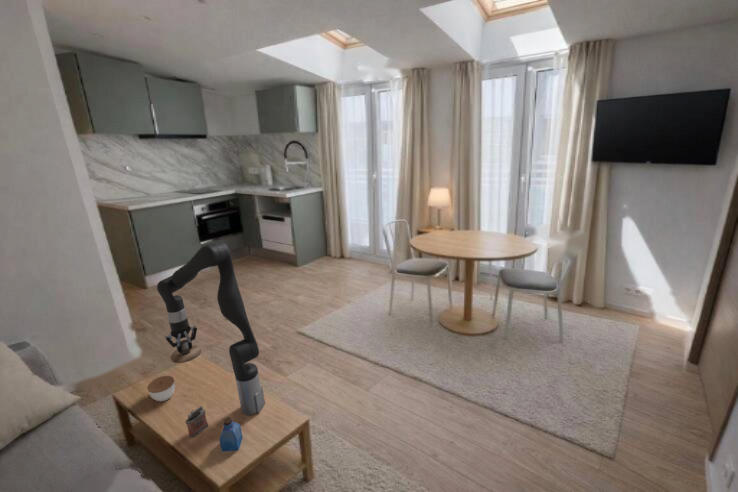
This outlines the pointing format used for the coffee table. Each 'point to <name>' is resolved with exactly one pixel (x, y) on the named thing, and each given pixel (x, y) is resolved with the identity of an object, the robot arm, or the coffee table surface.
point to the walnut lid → (185, 353)
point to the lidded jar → (161, 388)
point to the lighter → (196, 422)
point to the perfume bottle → (230, 435)
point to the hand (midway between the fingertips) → (185, 350)
